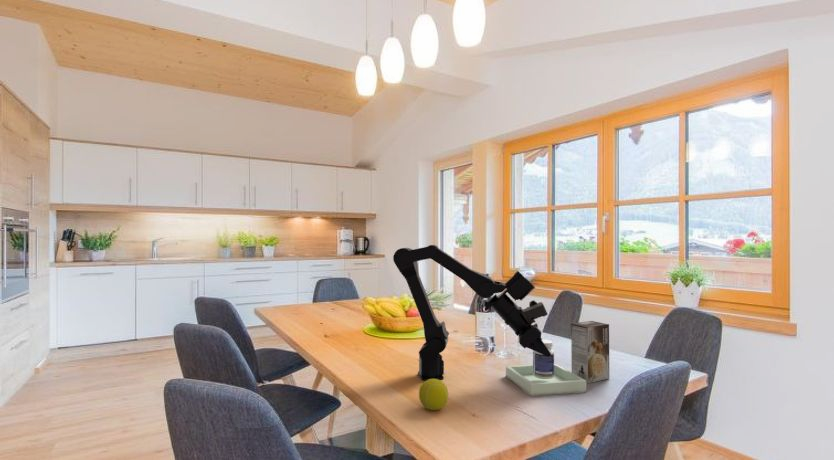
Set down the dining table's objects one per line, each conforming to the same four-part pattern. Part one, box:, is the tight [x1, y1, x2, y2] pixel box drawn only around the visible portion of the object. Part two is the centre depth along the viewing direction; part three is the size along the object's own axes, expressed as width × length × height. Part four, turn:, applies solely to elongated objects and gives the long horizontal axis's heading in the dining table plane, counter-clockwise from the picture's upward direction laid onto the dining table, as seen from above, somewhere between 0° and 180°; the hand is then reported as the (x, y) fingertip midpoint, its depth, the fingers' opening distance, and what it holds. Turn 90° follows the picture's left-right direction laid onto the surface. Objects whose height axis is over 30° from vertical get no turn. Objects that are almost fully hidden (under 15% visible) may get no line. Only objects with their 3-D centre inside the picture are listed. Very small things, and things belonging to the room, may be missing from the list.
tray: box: [505, 362, 587, 397], centre depth 121 cm, size 16×16×3 cm
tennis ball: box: [418, 379, 449, 411], centre depth 103 cm, size 7×7×7 cm
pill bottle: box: [532, 339, 555, 379], centre depth 122 cm, size 6×6×10 cm
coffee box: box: [570, 320, 610, 384], centre depth 127 cm, size 9×6×16 cm
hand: (548, 352), depth 121 cm, fingers closed on pill bottle, 5 cm apart
